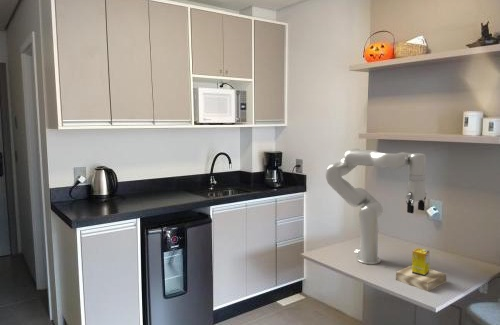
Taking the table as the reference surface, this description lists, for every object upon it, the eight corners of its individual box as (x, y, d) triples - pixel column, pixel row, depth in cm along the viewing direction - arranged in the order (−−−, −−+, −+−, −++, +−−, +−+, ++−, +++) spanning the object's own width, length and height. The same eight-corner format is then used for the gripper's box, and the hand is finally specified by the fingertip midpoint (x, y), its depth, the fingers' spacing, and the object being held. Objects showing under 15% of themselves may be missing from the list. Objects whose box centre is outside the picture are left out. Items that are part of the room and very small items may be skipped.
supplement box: (416, 269, 185) (416, 247, 183) (429, 272, 181) (429, 250, 179) (411, 273, 180) (412, 250, 179) (424, 276, 176) (425, 253, 175)
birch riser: (395, 279, 183) (396, 271, 182) (414, 271, 192) (414, 264, 192) (427, 291, 170) (428, 282, 169) (446, 282, 179) (446, 274, 179)
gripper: (419, 175, 198) (418, 207, 200) (400, 178, 188) (399, 212, 190) (433, 177, 192) (432, 210, 194) (414, 180, 182) (413, 215, 184)
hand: (415, 211), depth 192 cm, fingers open, 9 cm apart
